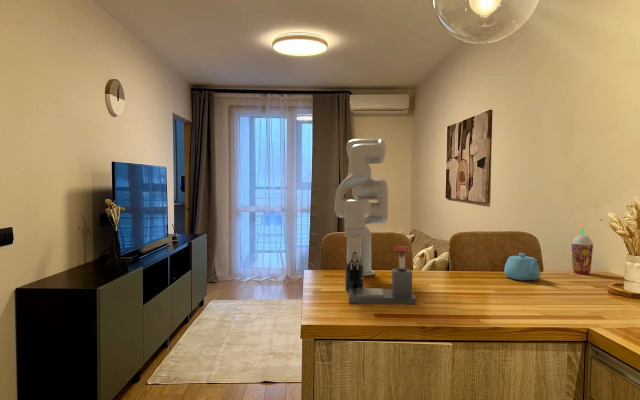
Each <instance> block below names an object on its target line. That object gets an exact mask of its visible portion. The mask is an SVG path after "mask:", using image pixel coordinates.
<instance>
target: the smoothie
mask: <svg viewBox="0 0 640 400" xmlns="http://www.w3.org/2000/svg"><path fill="white" fill-rule="evenodd" d="M570 246H571V260H572V262H571V263H572V270H573V273H575V274H577V275H586V276H587V275H590V272H591V271H592V270H591V269H592V262H593V261H592V260H593V259H592V257H593V248H594V243H593V241H592V239H591V238H590V237H589V236H588V235H585V234H584V228H581V234H579V235H576V236H575V237H574V238H573V239H572V240H571V245H570Z"/></svg>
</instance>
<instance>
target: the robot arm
mask: <svg viewBox="0 0 640 400" xmlns="http://www.w3.org/2000/svg"><path fill="white" fill-rule="evenodd" d="M386 146H387V145H386V142H385V140H384V139H382V138H353V139H351V140H348V141H347V143H346V146H345V147H346V149H345V150H346V154H347V158H348V170H347V171H348V172H347V177H345V178H344V179H343V180H342V181H341V183H340V184H339V185H338V187H337V189H336V192H335V199H334V214H335V215H336V217H338V218H341V219H343V218H344V237H345V238H347V239H346V263H347V264H349V262H351V270H350V280H351V281H359V270H358V264H359V263H360V258H361V263H360V264H361V265H363V267H364V274H363V277H368V276H373V275H375V272H376V271H375V270H373V269H372V233H371V231H370V229H369V228H368V226H367V225H384V224H385V223H387V222H388V217H389V187H388V183H387V181H386V180H385V179H382V178H372V167H371V166H370V165H374V164H377V165H378V164H382V163H383V162H384V160H385V157H386V151H387V150H386V149H387V148H386ZM349 190H351V194H352V197H353V198H344V195H345V194H346V192H348V191H349ZM370 201H376V202H370ZM358 260H359V261H358ZM358 262H359V263H358Z"/></svg>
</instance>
